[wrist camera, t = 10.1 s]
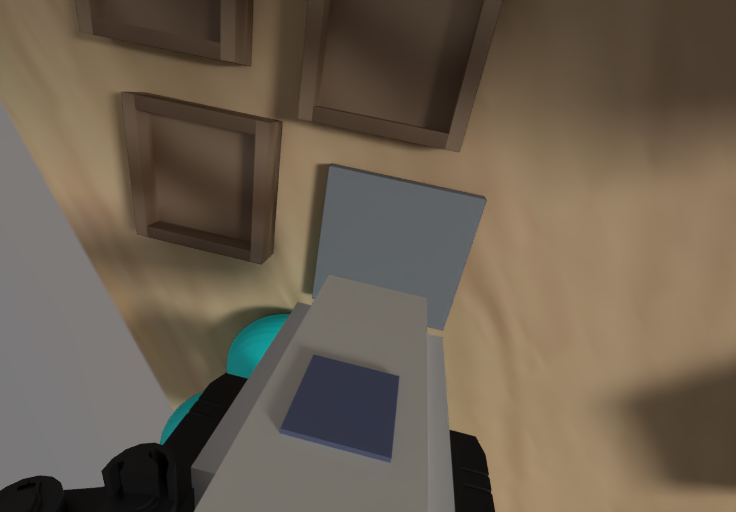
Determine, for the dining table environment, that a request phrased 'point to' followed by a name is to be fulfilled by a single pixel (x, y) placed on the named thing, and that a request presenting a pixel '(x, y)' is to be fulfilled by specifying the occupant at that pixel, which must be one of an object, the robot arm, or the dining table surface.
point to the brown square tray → (396, 66)
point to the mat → (397, 236)
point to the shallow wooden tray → (175, 25)
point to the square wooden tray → (203, 175)
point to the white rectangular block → (338, 413)
